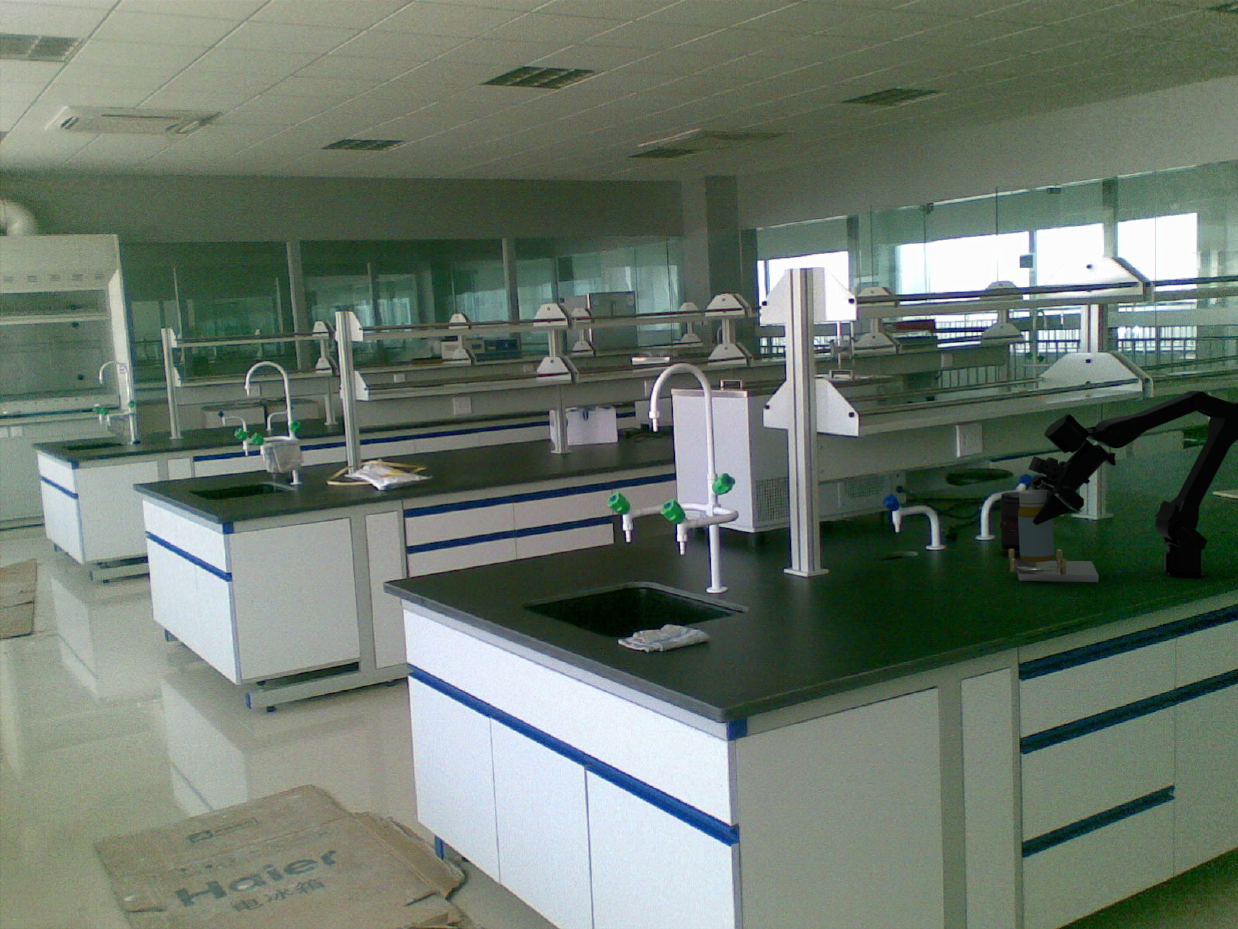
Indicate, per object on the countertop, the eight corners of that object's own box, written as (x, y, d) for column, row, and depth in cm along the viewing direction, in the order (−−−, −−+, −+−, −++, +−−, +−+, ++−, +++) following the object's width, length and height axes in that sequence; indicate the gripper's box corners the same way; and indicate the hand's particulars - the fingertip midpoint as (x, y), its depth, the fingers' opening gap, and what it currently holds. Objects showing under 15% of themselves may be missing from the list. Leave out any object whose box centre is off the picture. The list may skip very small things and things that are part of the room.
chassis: (1091, 567, 245) (1091, 548, 245) (1098, 582, 232) (1098, 561, 232) (1008, 566, 251) (1008, 547, 250) (1010, 580, 238) (1010, 560, 237)
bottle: (1053, 556, 238) (1050, 488, 237) (1055, 562, 232) (1052, 493, 231) (1019, 556, 241) (1016, 490, 239) (1020, 562, 234) (1017, 494, 233)
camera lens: (1014, 560, 257) (1013, 497, 256) (994, 554, 265) (993, 493, 263) (1043, 556, 259) (1043, 494, 258) (1022, 550, 267) (1022, 490, 265)
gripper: (1038, 438, 243) (989, 490, 245) (1067, 447, 224) (1014, 503, 226) (1075, 471, 243) (1026, 522, 245) (1107, 482, 225) (1053, 538, 227)
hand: (1029, 520), depth 236 cm, fingers closed on bottle, 7 cm apart
